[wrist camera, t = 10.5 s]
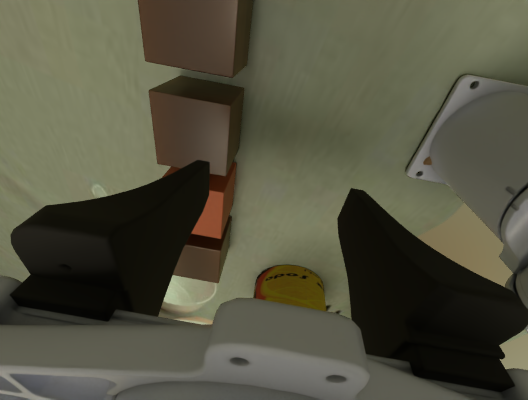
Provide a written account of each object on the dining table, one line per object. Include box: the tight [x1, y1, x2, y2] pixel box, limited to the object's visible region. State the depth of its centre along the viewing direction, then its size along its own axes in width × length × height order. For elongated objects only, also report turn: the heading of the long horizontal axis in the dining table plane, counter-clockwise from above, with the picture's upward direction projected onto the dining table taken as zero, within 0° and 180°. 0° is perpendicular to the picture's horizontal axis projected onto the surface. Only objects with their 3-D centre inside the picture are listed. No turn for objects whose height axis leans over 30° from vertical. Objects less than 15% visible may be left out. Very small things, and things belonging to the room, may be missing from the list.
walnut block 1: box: [138, 0, 253, 78], centre depth 14 cm, size 5×5×5 cm
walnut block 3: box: [173, 216, 232, 283], centre depth 26 cm, size 5×5×5 cm
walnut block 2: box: [149, 76, 245, 176], centre depth 18 cm, size 5×5×5 cm
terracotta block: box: [162, 162, 236, 239], centre depth 22 cm, size 5×5×5 cm
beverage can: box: [253, 265, 326, 311], centre depth 28 cm, size 9×9×12 cm
